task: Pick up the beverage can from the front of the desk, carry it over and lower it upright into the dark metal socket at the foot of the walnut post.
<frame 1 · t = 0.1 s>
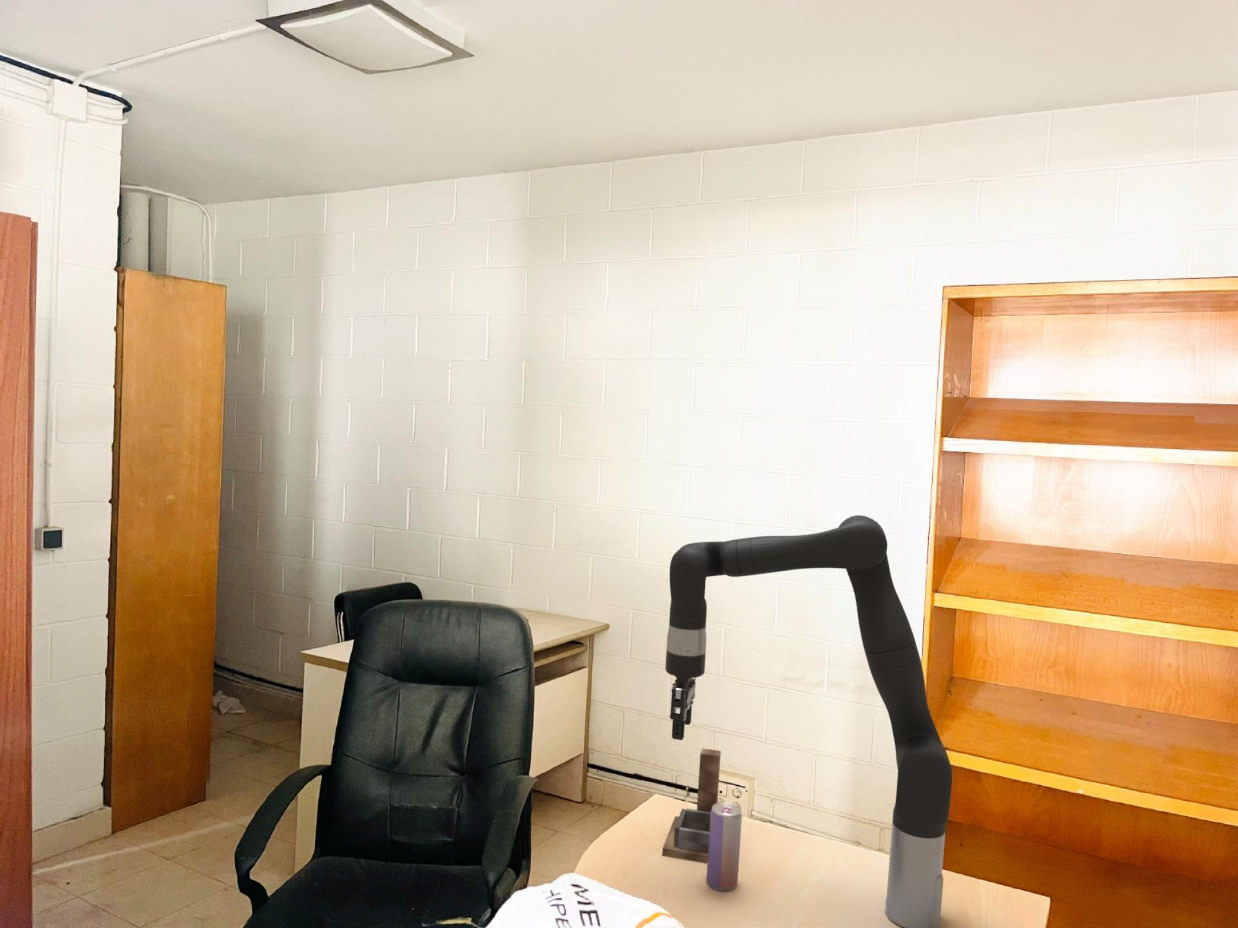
hand: (681, 731, 176), 29 cm above the table, fingers open, 8 cm apart
post holder: (700, 846, 190), on the table
beverage can: (721, 884, 176), on the table
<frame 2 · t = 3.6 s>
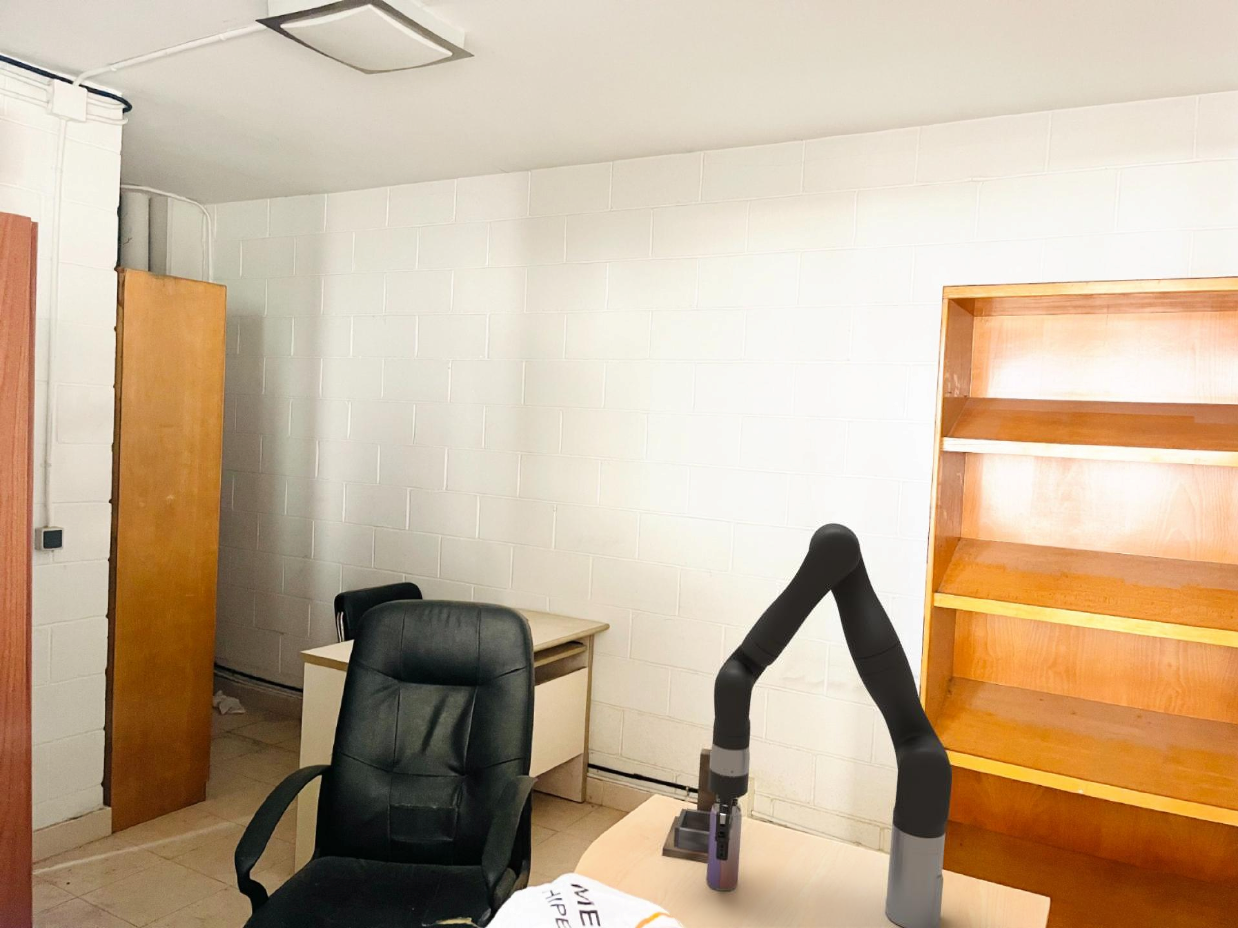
hand: (723, 850, 176), 7 cm above the table, fingers closed on beverage can, 6 cm apart
beverage can: (721, 884, 176), on the table, touching gripper
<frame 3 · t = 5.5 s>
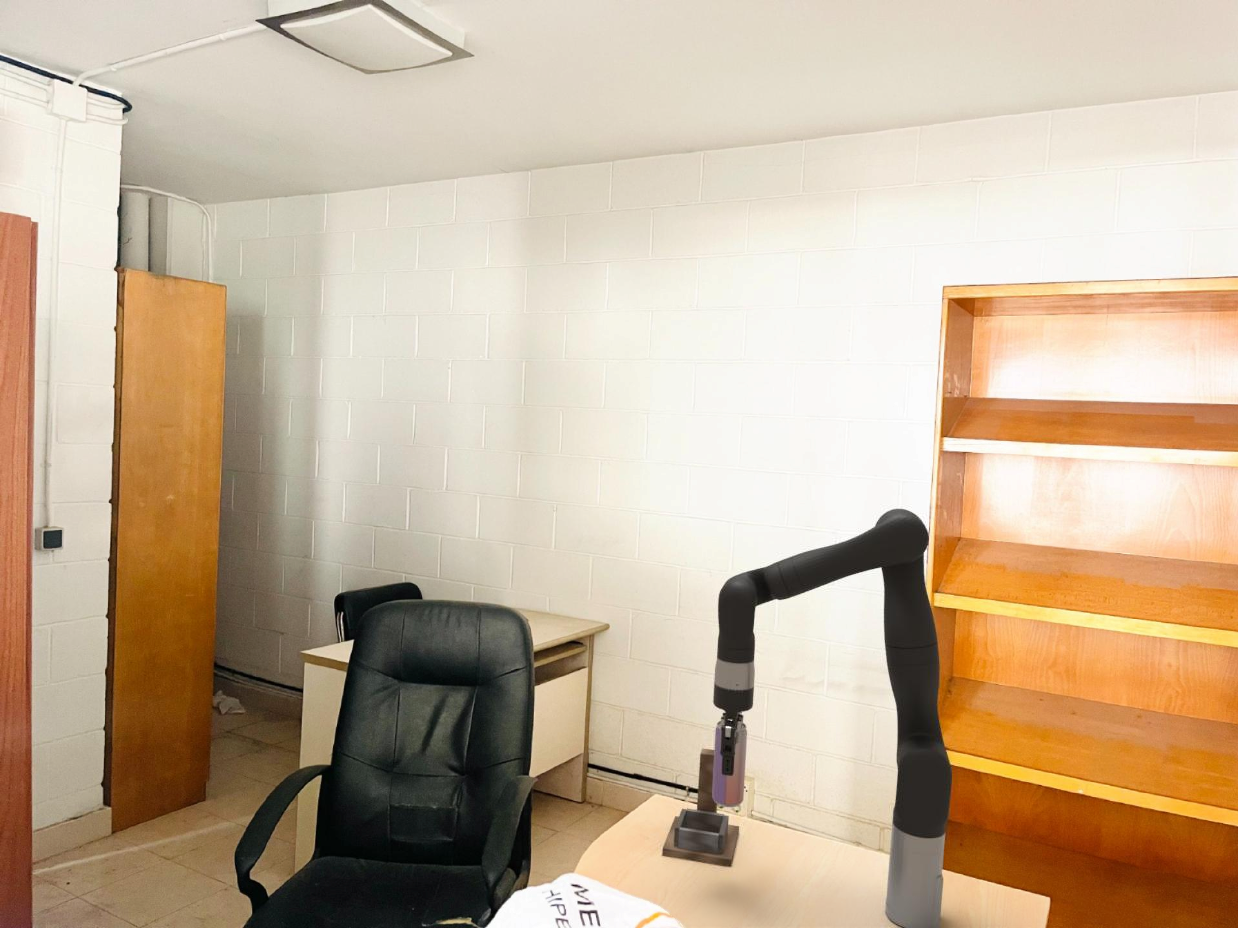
hand: (729, 767, 175), 23 cm above the table, fingers closed on beverage can, 6 cm apart
beverage can: (727, 802, 175), point 16 cm above the table, touching gripper
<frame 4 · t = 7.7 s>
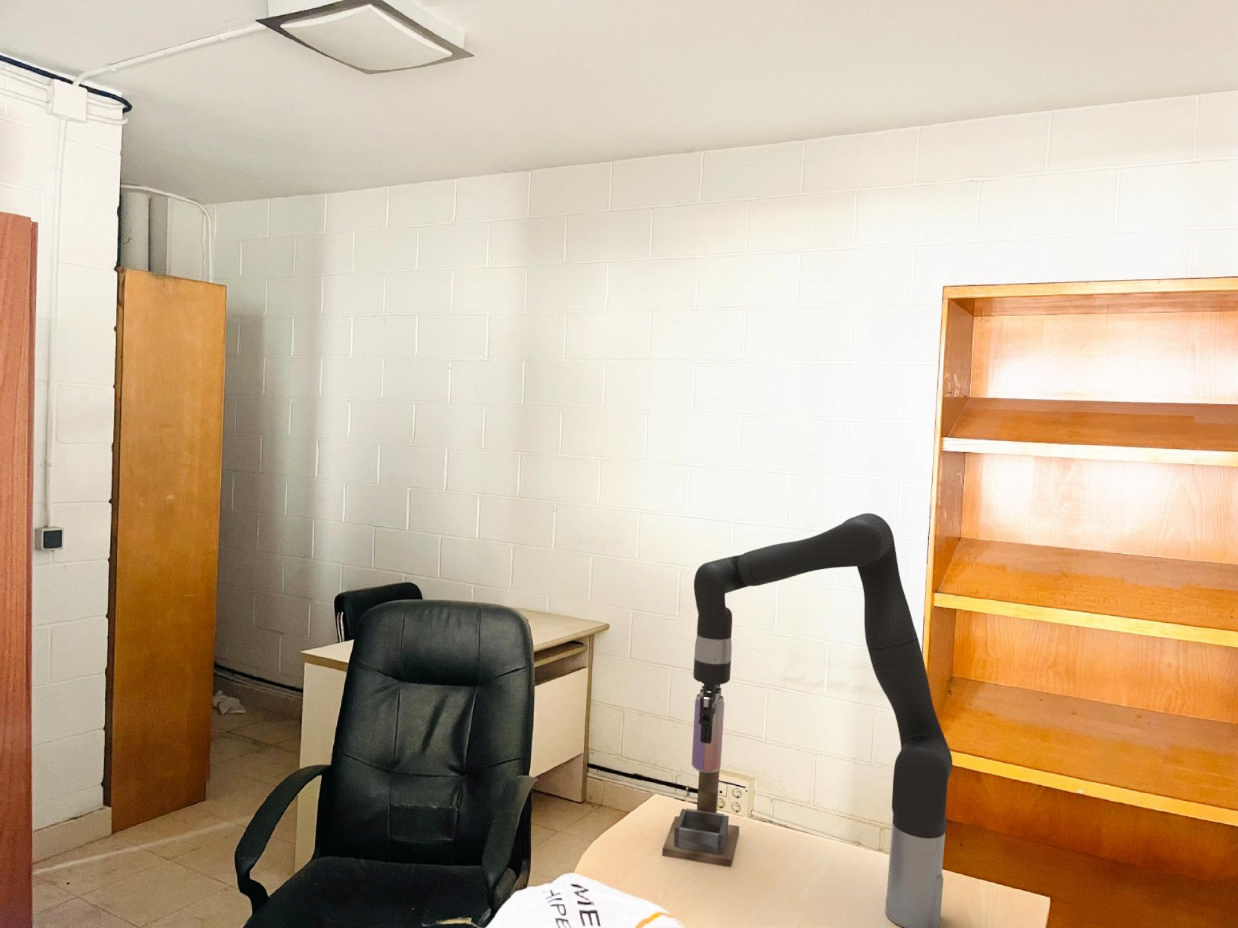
hand: (708, 736, 189), 24 cm above the table, fingers closed on beverage can, 6 cm apart
beverage can: (705, 768, 189), point 17 cm above the table, touching gripper
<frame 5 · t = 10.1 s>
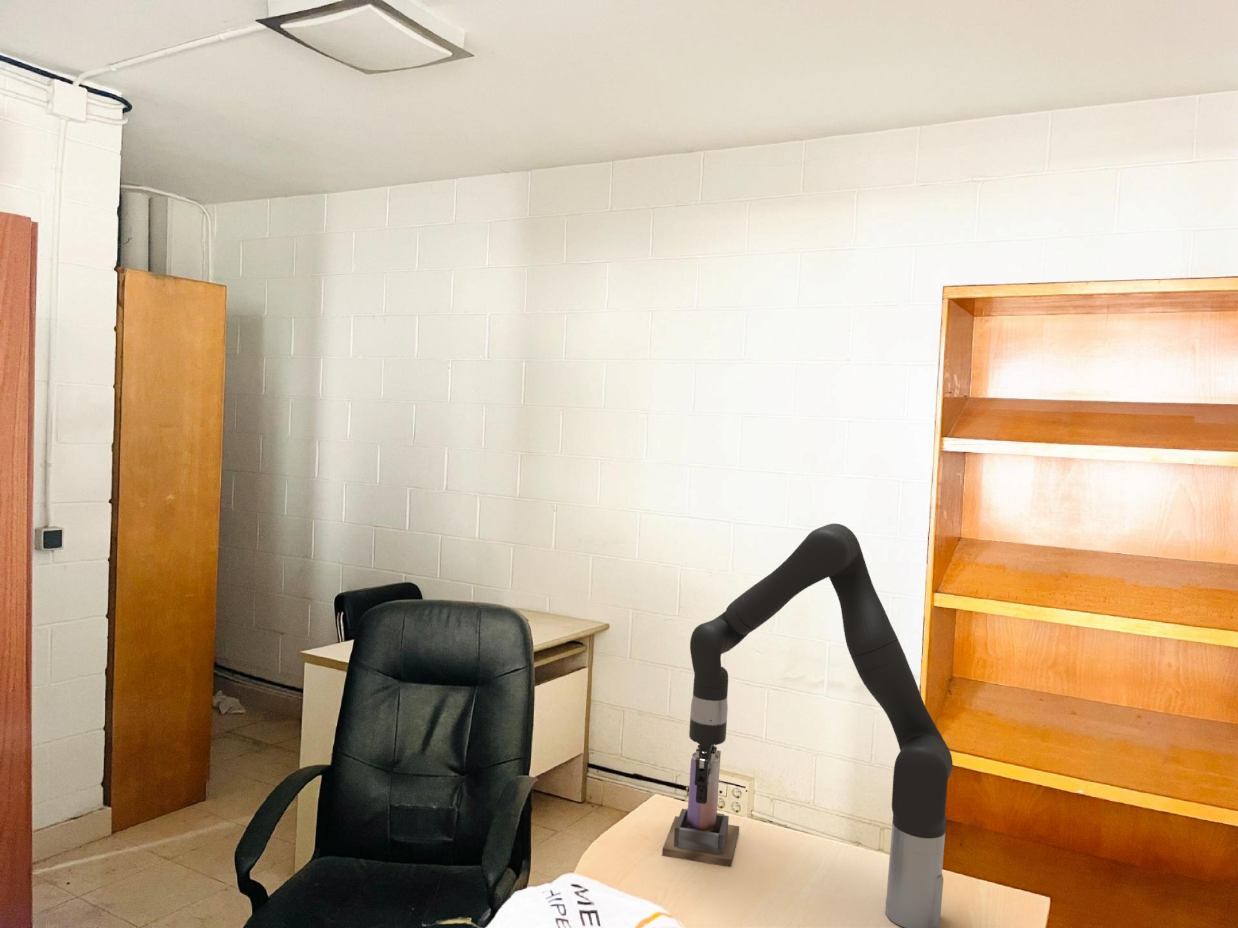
hand: (703, 795, 189), 11 cm above the table, fingers closed on beverage can, 6 cm apart
beverage can: (701, 827, 190), point 4 cm above the table, touching gripper
when the fingers open (9 cm above the table, at t = 12.1 s): beverage can drops 1 cm, resting on post holder.
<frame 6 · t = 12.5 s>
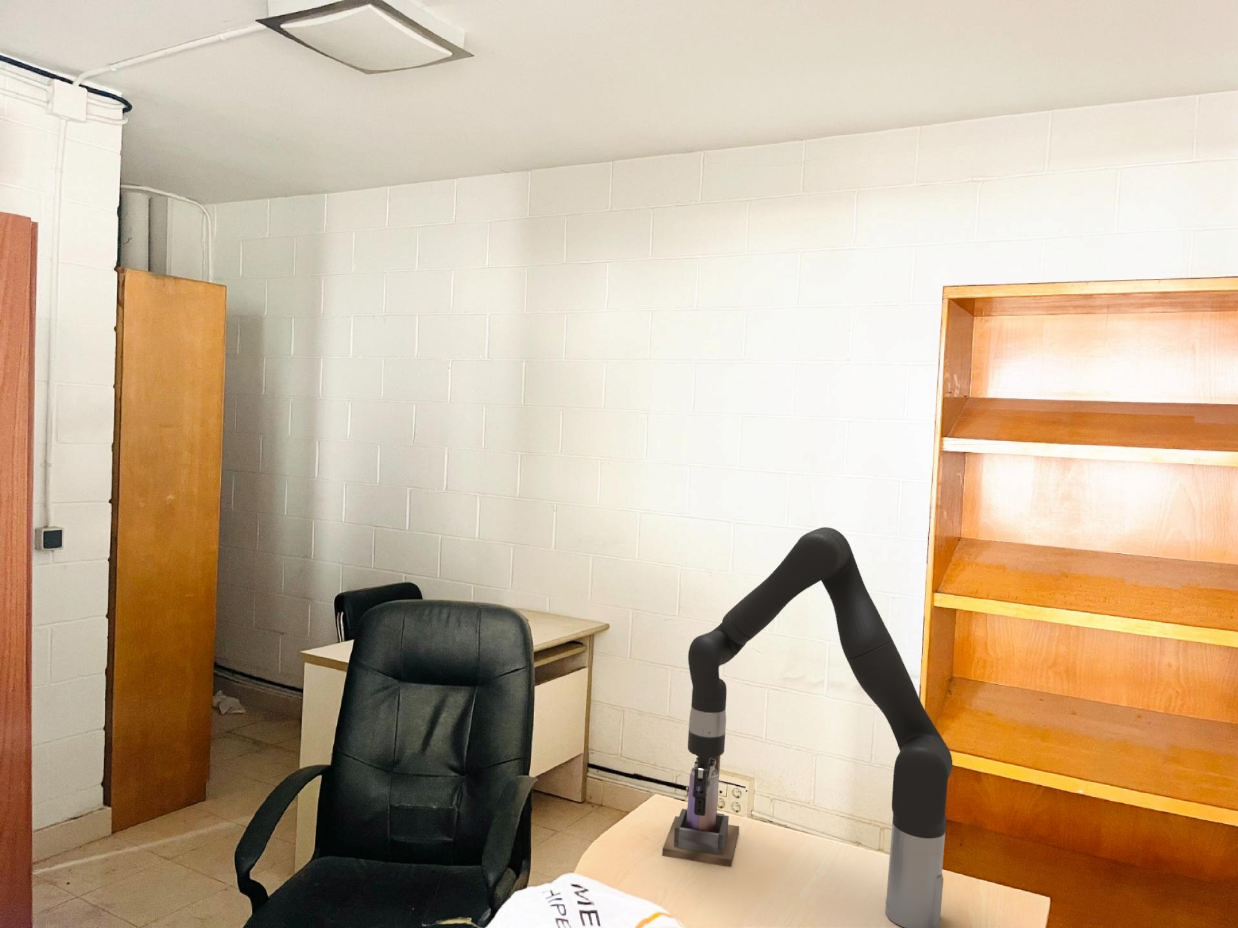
hand: (702, 806, 189), 9 cm above the table, fingers open, 8 cm apart
beverage can: (699, 842, 190), point 1 cm above the table, touching post holder
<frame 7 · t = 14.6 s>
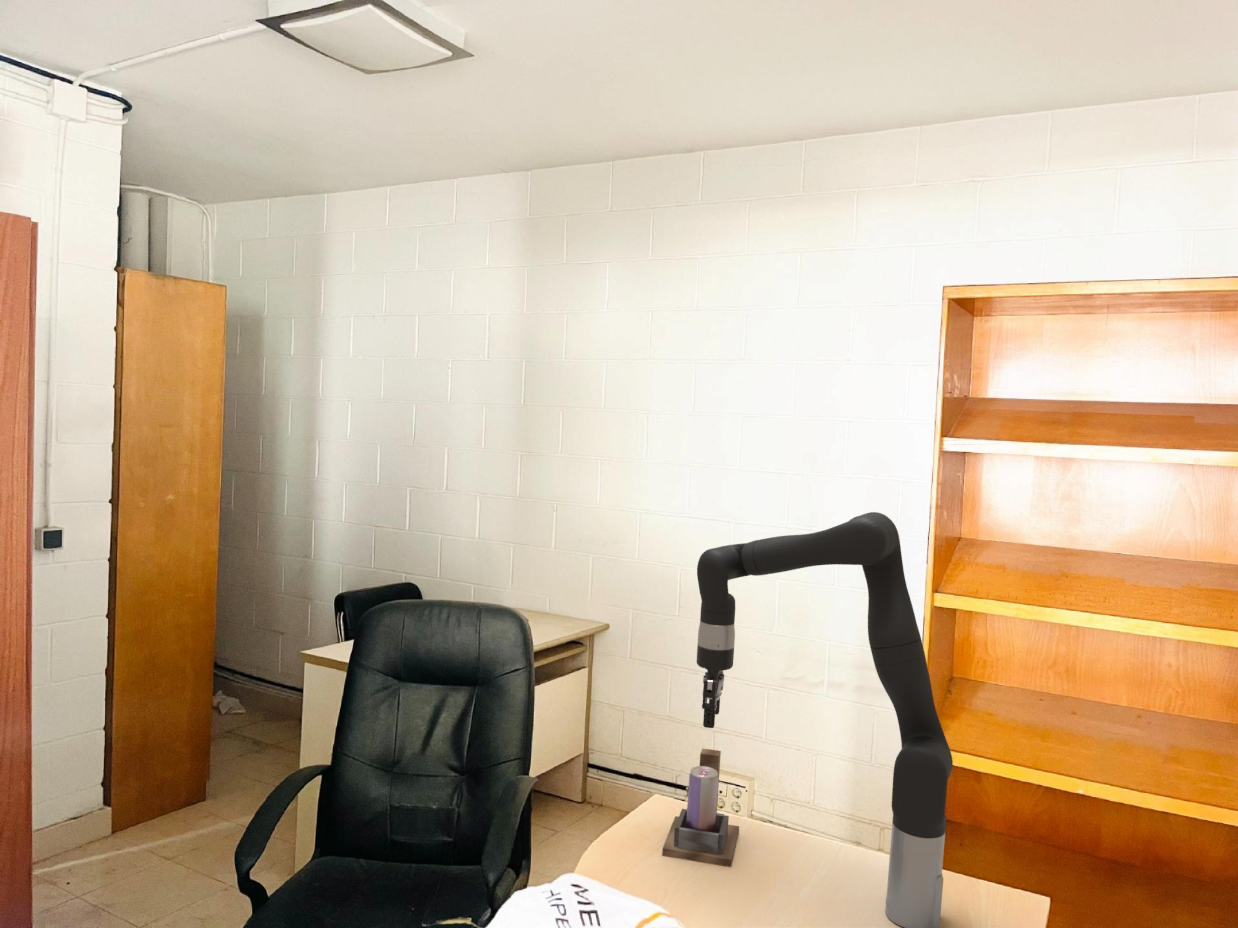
hand: (711, 720, 189), 27 cm above the table, fingers open, 8 cm apart
nothing on the table moved.
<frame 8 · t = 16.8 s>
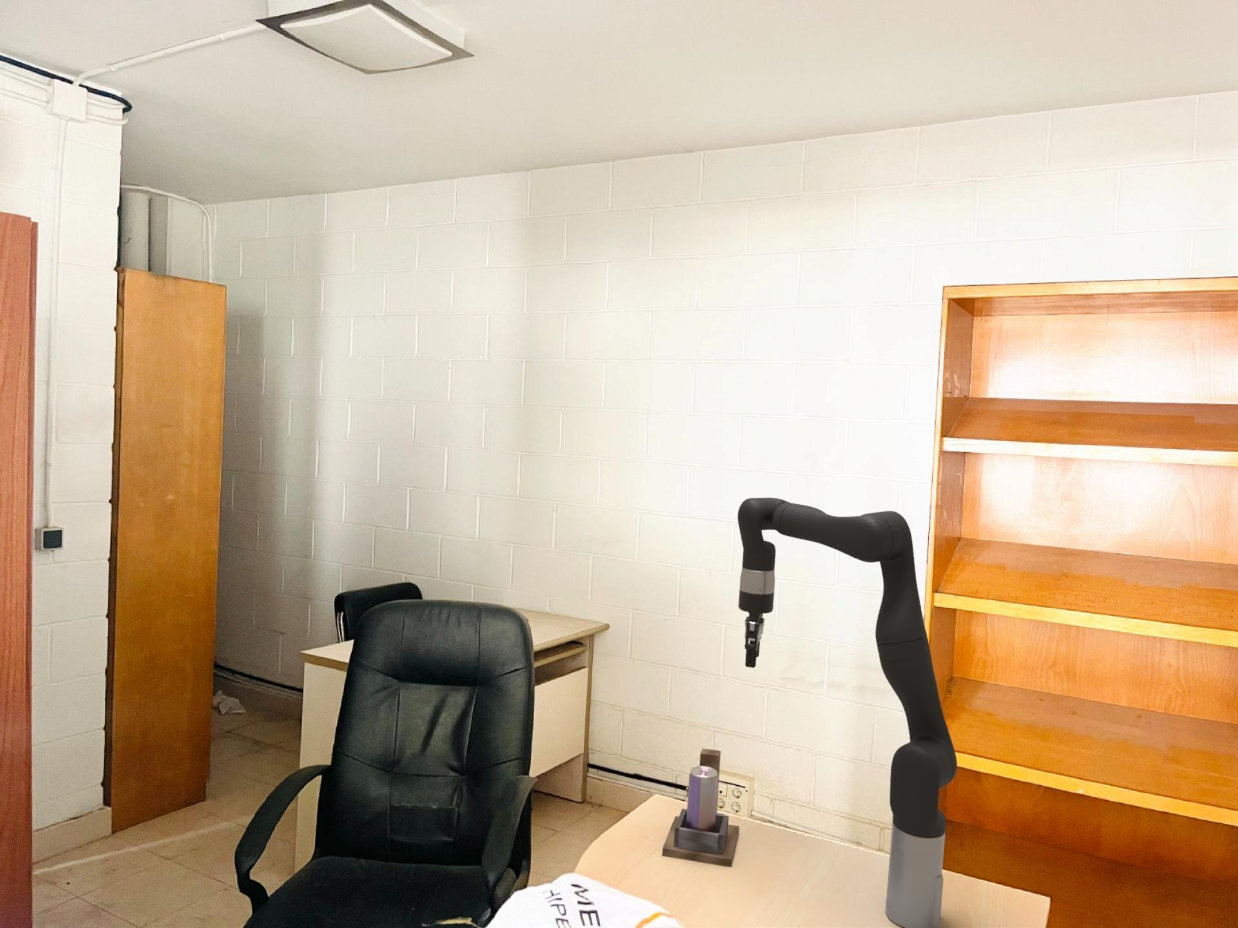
hand: (752, 661, 201), 36 cm above the table, fingers open, 8 cm apart
nothing on the table moved.
at the end: beverage can 0.8 cm off-centre on the post holder, point 1.3 cm above the post holder's base; beverage can tilted 0°; the gripper is holding nothing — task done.
